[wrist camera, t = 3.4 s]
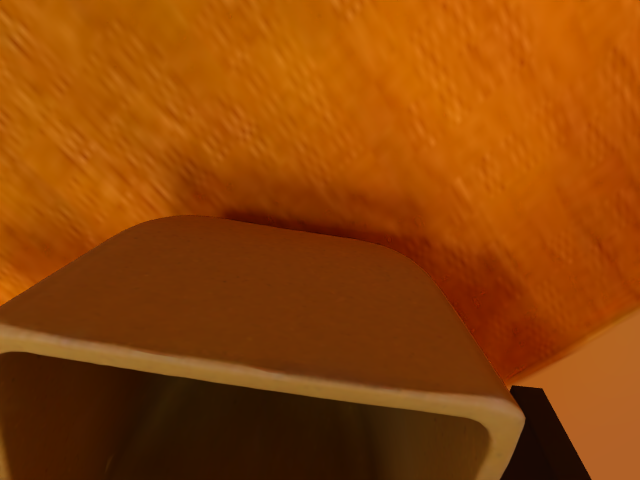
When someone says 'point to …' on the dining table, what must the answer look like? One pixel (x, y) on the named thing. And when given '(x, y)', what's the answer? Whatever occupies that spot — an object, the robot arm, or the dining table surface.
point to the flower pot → (245, 364)
